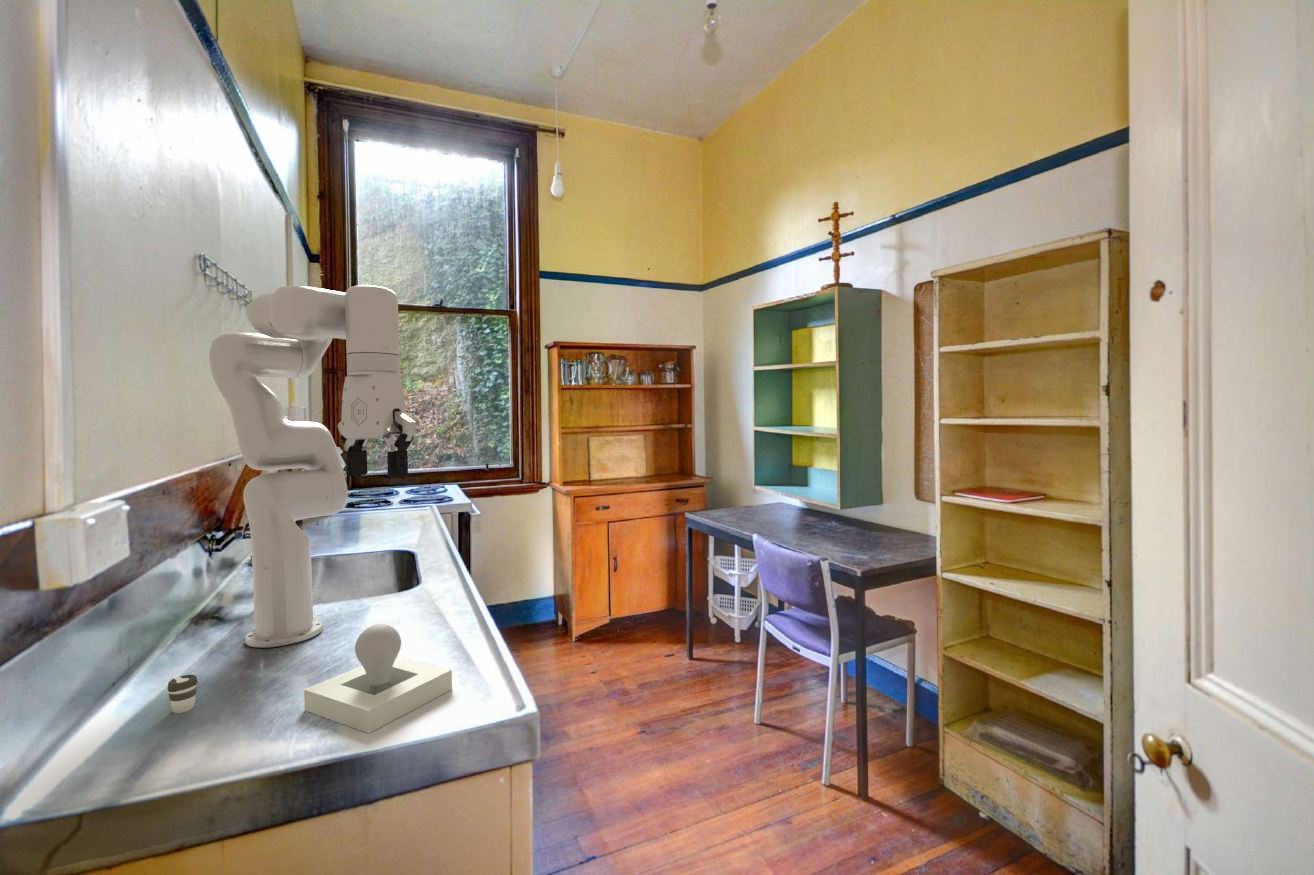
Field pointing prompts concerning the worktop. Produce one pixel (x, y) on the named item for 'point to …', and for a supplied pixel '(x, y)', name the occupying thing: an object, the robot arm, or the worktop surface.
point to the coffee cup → (182, 693)
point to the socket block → (369, 712)
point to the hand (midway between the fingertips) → (377, 476)
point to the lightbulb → (378, 654)
